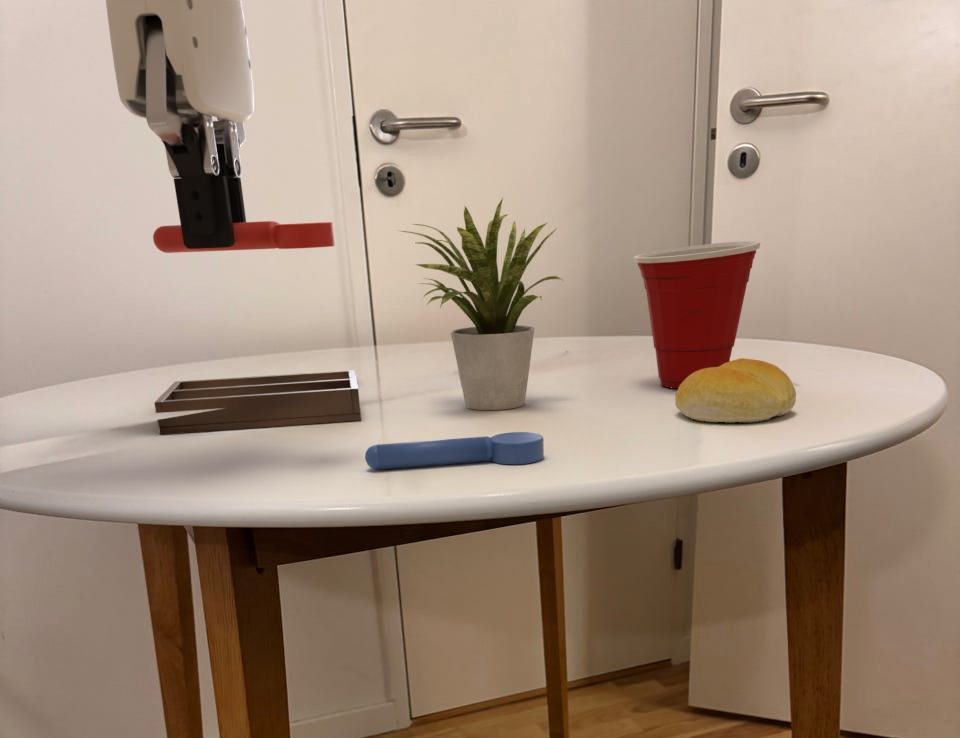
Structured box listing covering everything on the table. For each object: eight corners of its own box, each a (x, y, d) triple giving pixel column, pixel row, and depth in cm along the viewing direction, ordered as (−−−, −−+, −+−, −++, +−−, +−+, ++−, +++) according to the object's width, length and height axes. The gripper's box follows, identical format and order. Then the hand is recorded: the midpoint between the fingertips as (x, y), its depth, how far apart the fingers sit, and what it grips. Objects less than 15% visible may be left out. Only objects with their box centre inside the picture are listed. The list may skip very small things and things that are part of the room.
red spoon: (143, 254, 59) (139, 226, 58) (169, 252, 62) (164, 225, 62) (325, 247, 57) (322, 218, 57) (341, 245, 60) (339, 218, 60)
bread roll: (655, 416, 73) (656, 364, 72) (727, 400, 78) (730, 351, 77) (741, 430, 67) (745, 373, 66) (813, 412, 72) (819, 358, 71)
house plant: (412, 392, 89) (398, 203, 82) (556, 385, 89) (555, 196, 82) (407, 422, 76) (390, 200, 69) (576, 413, 76) (576, 191, 69)
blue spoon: (367, 476, 60) (364, 451, 59) (365, 463, 63) (362, 440, 62) (548, 462, 61) (548, 438, 61) (537, 450, 64) (537, 427, 64)
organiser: (159, 435, 75) (153, 402, 74) (179, 410, 85) (174, 381, 84) (361, 420, 77) (358, 388, 76) (357, 398, 87) (354, 369, 86)
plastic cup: (615, 380, 90) (617, 246, 85) (720, 372, 92) (728, 240, 87) (654, 399, 81) (658, 248, 76) (771, 389, 82) (783, 241, 77)
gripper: (166, -65, 60) (211, 246, 67) (24, -151, 46) (101, 254, 53) (278, -75, 59) (311, 242, 66) (167, -167, 45) (225, 249, 52)
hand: (217, 245), depth 60 cm, fingers closed on red spoon, 1 cm apart
